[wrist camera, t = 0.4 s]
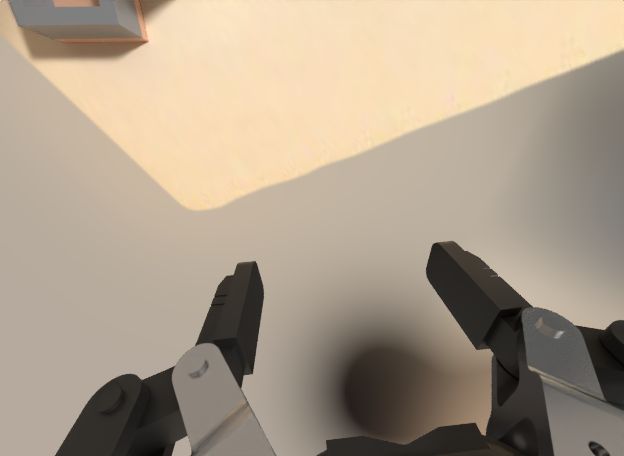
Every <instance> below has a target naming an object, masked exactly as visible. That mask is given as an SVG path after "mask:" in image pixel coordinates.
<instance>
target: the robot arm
mask: <svg viewBox="0 0 624 456" xmlns="http://www.w3.org/2000/svg"><path fill="white" fill-rule="evenodd" d="M426 274H427V278H428V280H429V282H430V284H431V285H432V286H433V288H434V289H435V291H436V292H437V294H438V295H439V296H440V298H441V299H442V301H443V302H444V304H445V305H446V307H447V308H448V309H449V311H450V312H451V314H452V315H453V317H454V318H455V319H456V321H457V322H458V324H459V325H460V326H461V328H462V329H463V331H464V332H465V334H466V335H467V336H468V338H469V340H470V341H471V342H472V344H473V345H474V347H475V348H476V350H480V349H491V351H492V352H493V353H494V355H493V356H492V361H491V363H492V365H491V367H492V368H491V380H492V381H491V383H492V384H491V390H492V392H491V399H492V400H491V404H492V405H491V414H490V418H489V420H488V423H487V428H486V435H485V436H484V435H482V434H481V433H480V431H479V429H478V427H477V425H476V423H469V424H460V425H452V426H443V427H438V428H436V429H435V430H433V431H431V432H429V433H427V434H425V435H423V436H422V437H420V438H418V439H416V440H414V441H413V442H411V443H409V444H406V445H401V444H397V443H392V442H388V441H383V440H379V439H374V438H370V437H365V436H359V437H350V438H342V439H333V440H326V444H327V450H325V451H324V452H322V453H320V454H318V455H317V456H624V320H618V321H615V322H613V323H612V324H610V325H609V326H608V327H607V328H606V329H605V330H601V329H594V328H588V327H582V326H575V325H574V324H573V323H571V322H570V321H569V320H567V319H566V318H564V317H563V316H560V315H558V314H557V313H555V312H552V311H550V310H547V309H543V308H538V307H533V306H531V305H530V304H529V303H528V302H527V301H526V300H525V299H524V298H523V297H522V296H521V295H519V294H518V293H517V292H516V291H515V290H514V289H513V288H512V287H511V286H510V285H509V284H507V283H506V282H505V281H504V280H503V279H502V278H501V277H498V274H497V273H495V272H494V271H493V270H492V269H490V267H489V266H488V265H487V264H486V263H485V262H484V261H482V260H481V259H480V258H479V257H477V256H475V255H473V254H471V253H470V252H468V251H464V250H463V249H462V248H461V247H460V246H459V245H458V244H457V243H455V242H453V241H448V242H438V243H434V244H433V245H432V248H431V252H430V256H429V259H428V263H427V267H426ZM263 299H264V289H263V284H262V280H261V277H260V273H259V270H258V266H257V263H256V262H255V261H253V262H243V263H238V264H237V266H236V270H235V273H234V275H231V276H226V277H225V278H224V280H223V281H222V282H221V283H220V284H219V285H218V288H217V291H216V293H215V298H214V299H213V301H212V304H211V307H210V309H209V312H208V314H207V317H206V319H205V322H204V325H203V327H202V330H201V332H200V335H199V338H198V340H197V343H196V345H195V347H193V348H191V349H190V350H188V351H187V352H186V353H185V354H184V355H183V356H182V357H181V358H180V359H179V361H178V362H177V364H176V365H175V366H174V367H172V368H169V369H167V370H165V371H163V372H160V373H158V374H156V375H153V376H151V377H148V378H146V379H144V380H141V379H140V378H139V377H138V376H137V375H134V374H125V375H121V376H119V377H117V378H115V379H113V380H111V381H109V382H108V383H106V384H105V385H104V386H103V387H101V388H100V389H99V390H98V391H97V392H96V393H95V394H94V395H93V396H92V397H91V399H90V400H89V401H88V403H87V404H86V406H85V407H84V409H83V410H82V412H81V414H80V415H79V417H78V419H77V420H76V422H75V424H74V425H73V427H72V429H71V430H70V432H69V434H68V435H67V437H66V438H65V440H64V442H63V444H62V445H61V447H60V448H59V450H58V452H57V453H56V455H55V456H172V452H173V449H174V445H175V442H176V441H178V440H180V439H182V438H184V437H186V436H188V438H189V442H190V445H191V451H192V454H191V456H277V455H276V454H275V452H274V450H273V448H272V446H271V444H270V443H269V441H268V439H267V437H266V435H265V433H264V431H263V429H262V428H261V426H260V424H259V422H258V420H257V418H256V416H255V414H254V412H253V410H252V408H251V407H250V405H249V403H248V401H247V399H246V397H245V395H244V394H243V392H242V390H241V387H242V382H243V376H244V375H249V374H253V369H254V362H255V355H256V348H257V341H258V334H259V327H260V320H261V313H262V306H263Z"/></svg>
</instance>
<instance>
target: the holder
mask: <svg viewBox="0 0 624 456" xmlns="http://www.w3.org/2000/svg"><path fill="white" fill-rule="evenodd" d="M9 3H10V5H11V8H12V11H13V13H14V16H15V18H16V21H17V23H18V26H21V27H23V28H26V29H29V30H31V31H34V32H37V33H39V34H42V35H44V36H47V37H50V38H52V39H55V40H58V41H60V42H145V41H148V37H147V32H146V28H145V24H144V19H143V15H142V10H141V6H140V1H139V0H9Z"/></svg>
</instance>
